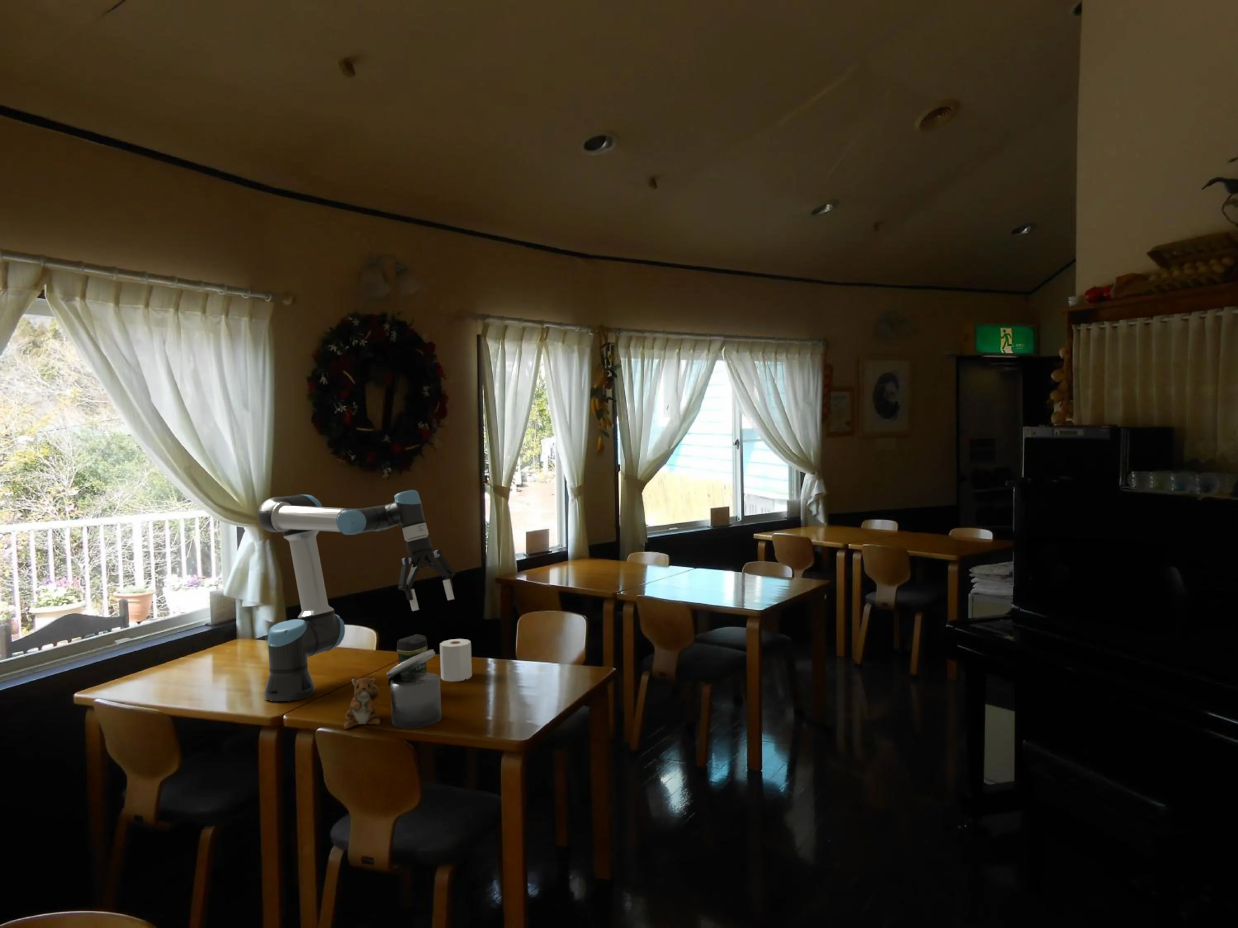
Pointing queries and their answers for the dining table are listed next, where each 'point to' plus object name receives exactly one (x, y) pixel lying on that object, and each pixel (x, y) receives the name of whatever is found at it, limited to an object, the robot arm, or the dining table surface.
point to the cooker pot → (415, 700)
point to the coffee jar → (412, 651)
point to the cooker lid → (410, 663)
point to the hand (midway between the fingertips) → (433, 604)
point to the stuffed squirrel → (363, 704)
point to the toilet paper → (455, 660)
